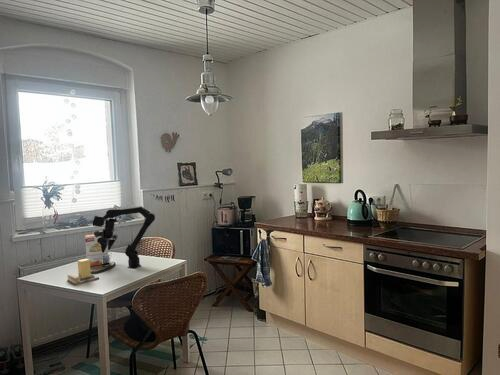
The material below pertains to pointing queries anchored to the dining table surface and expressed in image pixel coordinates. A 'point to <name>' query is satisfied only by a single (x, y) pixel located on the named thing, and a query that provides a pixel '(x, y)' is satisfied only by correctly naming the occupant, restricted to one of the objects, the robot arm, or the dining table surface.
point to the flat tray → (77, 280)
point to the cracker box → (94, 250)
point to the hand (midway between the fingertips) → (106, 251)
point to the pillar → (84, 268)
